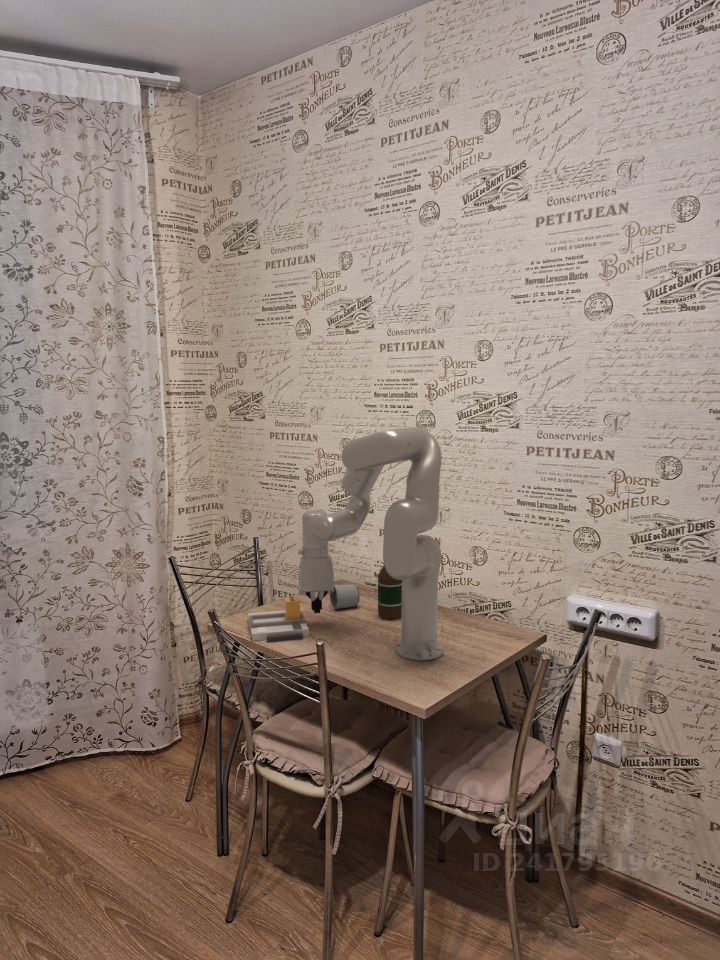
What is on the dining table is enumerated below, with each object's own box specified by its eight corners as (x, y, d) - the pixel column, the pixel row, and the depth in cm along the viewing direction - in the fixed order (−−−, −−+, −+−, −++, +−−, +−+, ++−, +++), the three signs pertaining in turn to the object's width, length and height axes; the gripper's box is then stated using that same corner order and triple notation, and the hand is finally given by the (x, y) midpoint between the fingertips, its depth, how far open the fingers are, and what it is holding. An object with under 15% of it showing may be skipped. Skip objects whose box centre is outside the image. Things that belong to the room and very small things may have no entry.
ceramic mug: (361, 608, 218) (360, 585, 217) (337, 612, 215) (336, 588, 214) (348, 599, 228) (348, 577, 227) (325, 603, 225) (325, 580, 224)
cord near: (302, 639, 192) (302, 634, 192) (267, 642, 190) (267, 637, 190) (302, 637, 194) (302, 632, 194) (266, 640, 192) (266, 635, 191)
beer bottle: (401, 621, 206) (401, 543, 203) (376, 620, 207) (375, 543, 204) (404, 612, 214) (404, 538, 210) (379, 611, 215) (379, 537, 212)
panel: (308, 635, 195) (308, 625, 195) (252, 641, 191) (251, 630, 191) (300, 615, 212) (299, 606, 212) (248, 619, 209) (247, 610, 208)
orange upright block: (300, 620, 201) (299, 600, 200) (286, 621, 200) (286, 601, 199) (298, 615, 205) (297, 595, 204) (284, 616, 204) (284, 596, 203)
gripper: (292, 557, 196) (293, 618, 199) (342, 553, 199) (343, 614, 202) (288, 550, 203) (290, 610, 206) (338, 547, 207) (338, 606, 209)
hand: (316, 611), depth 204 cm, fingers closed
